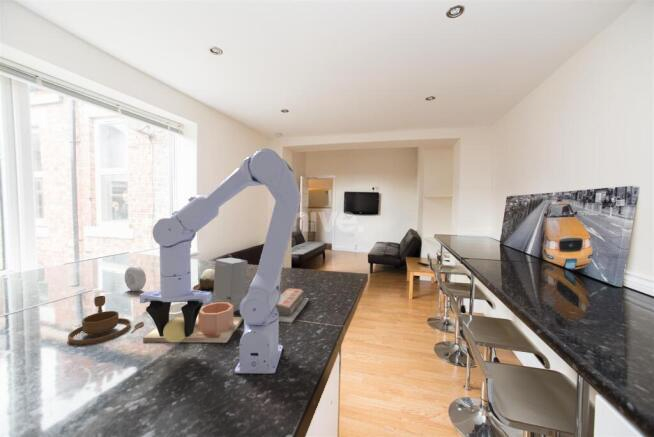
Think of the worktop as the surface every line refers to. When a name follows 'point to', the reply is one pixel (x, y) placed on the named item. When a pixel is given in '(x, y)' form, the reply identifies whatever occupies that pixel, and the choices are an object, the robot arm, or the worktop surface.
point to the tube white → (177, 310)
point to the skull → (206, 281)
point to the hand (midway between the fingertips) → (176, 334)
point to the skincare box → (230, 281)
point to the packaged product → (290, 304)
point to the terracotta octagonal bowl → (215, 318)
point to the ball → (174, 330)
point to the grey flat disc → (135, 278)
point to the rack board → (198, 334)
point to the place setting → (101, 324)
